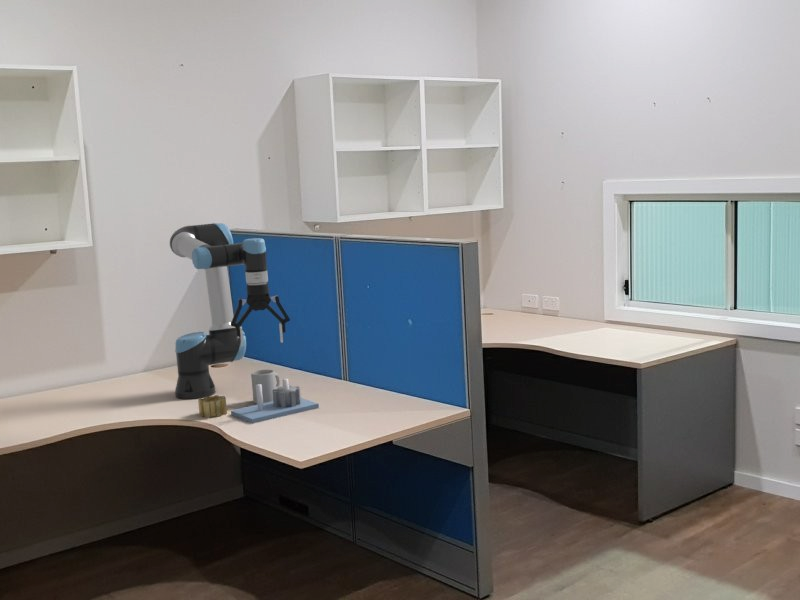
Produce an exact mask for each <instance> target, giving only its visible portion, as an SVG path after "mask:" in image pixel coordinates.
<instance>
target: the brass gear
mask: <svg viewBox="0 0 800 600" xmlns="http://www.w3.org/2000/svg"><path fill="white" fill-rule="evenodd" d="M197 401H198V411H199V417H200V418H207V419H211V418H214V417H215V418H218V417H222V415H227V414H228V408H227V398H226V396H225V395H221V396H220V395H218V394H216V395H210V396H206V397H202V398H197Z"/></svg>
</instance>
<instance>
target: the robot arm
mask: <svg viewBox="0 0 800 600" xmlns="http://www.w3.org/2000/svg"><path fill="white" fill-rule="evenodd" d="M265 242H266V241H265V239H263V238H261V237H259V238H258V237H257V238H256V237H253V238H246V239H243V241H241V242H237V243H234V239H233V236H232V233H231V229H230V228H229V227H228V226H227V225H226V223H220V222H219V223H214V222H213V223H206V224H195V225H186V226H183V227H181V228H178V229H177V230H175V231H174V232H173V233H172V234H171V236H170V239H169V247H170V249H171V252H173V254H175V255H176V256H178V257H180V258H188V259H190V260H192V264H193V267H194V268H195V269H197V270H204V271H205V273H204V274H205V281H206V287H207V294H208V302H209V309H210V318H211V325H210V328H209V329H208V334H207V333H206V332H205V331H197V332H191V333H187V334H184V335H181V336H179V337H178V338H177V339H176V340H175V350H174V351H175V354H176V365H177V366H176V367H177V375H178V376H177V381H176V385H175V390H174V393H175V394H174V395H175V398H176V399H183V400H190V399H191V400H192V399H202V398H204V397H207V396H209V397H210V396H213V395H214V394H215V393H216V385H215V383H214V380H213V379H212V376H211V374H210V368H209V367H210V366H212V365H219V364H224V363H233V362H237V361H240V360H242V359H243V358H244V356H245V354H246V350H247V336H246V334H245V332H244V330H243V326H242V324H243V323H244V321H245V320H246V319H247V318H248V317H249V315H250V314H251V312H252V311H255V312H258V311H265V310H268V311H269V312H270V313H271V314H272V316H274V318H276V319H277V320H278V321H279V323H278V327H279V338H280V339H279V340H280V343H281V344H282V343H284V338H283V337H284V336H283V334H285V333H286V323H288V322H290V321H291V319H290V317H289V315H288V313H287V311H286V310H285V308H284V307H283V306H282V304H281V302H280V297H279V296H278V295H276V294H275V295H274V296H270V288H269V286H270V285H269V284H268V282H269V276H268V263H267V247H266V243H265ZM242 265H244V272H245V282H246V295H247V296H246V298H238V302H237V303H238V305H237V307H236V309H235V312H234V308H233V301H232V295H231V294H232V293H231V287H230V279H229V278H230V277H229V272H228V271H229V270H228V267H232V266H233V267H234V266H242ZM271 301H272V302H273V303H275V305H276V306H277V307H278V309H279V311H280V312H281V315H283V317H284V318H283V317H282V316H281V315H280V314H279V313H277V312H276V310H275V309H274V308H273V307H272V306H271V305H270V303H271ZM245 304H247V305H248V307H247V308H246V310H245V312H244V313H243V314H242V316H241V317H240V319H239V320H238V321H237V319H238V317H239V315H240V312H241V310H242V308H243V306H245Z"/></svg>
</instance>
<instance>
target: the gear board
mask: <svg viewBox="0 0 800 600" xmlns="http://www.w3.org/2000/svg"><path fill="white" fill-rule="evenodd" d="M289 384H290V383H289V378H283V379H282V386H280V387H278V388H277V389H273V390H272V391H273V401H272V402H267V403H263V395H262V385H261V384H258V385H256V394H257V404H254V405H250V406H245V407H240V408H237V409H231V410H230V415H231V416H232V417H236V418H239V419H241V420H244V421H245V422H248V423H251V424H255V423H260V422H265V421H269V420H273V419H277V417H278V418H281V416H282V417H285V416H290V415H293V414H297V413H302V412H307V411H311V410H315V409H320V406H319V402H315V401H311V400H309V399H306V398H303V397H301V388H300V386H298V385H297V386H292V385H289ZM272 418H273V419H272Z"/></svg>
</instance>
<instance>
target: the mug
mask: <svg viewBox="0 0 800 600" xmlns="http://www.w3.org/2000/svg"><path fill="white" fill-rule="evenodd" d="M250 377H251V388H252V399H253V400H252V401H253V404H254V405H257V394H256V385H258V384H261V385H262V395H263V403H267V402H272V401H273V391H272V390H273V389H277V388H278V387H281V382H280V381H281V380H280V379H281V378H280V376H279V374H278V373H276V372H275V370H273V369H260V370H254V371H252V372H251V374H250Z"/></svg>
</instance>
